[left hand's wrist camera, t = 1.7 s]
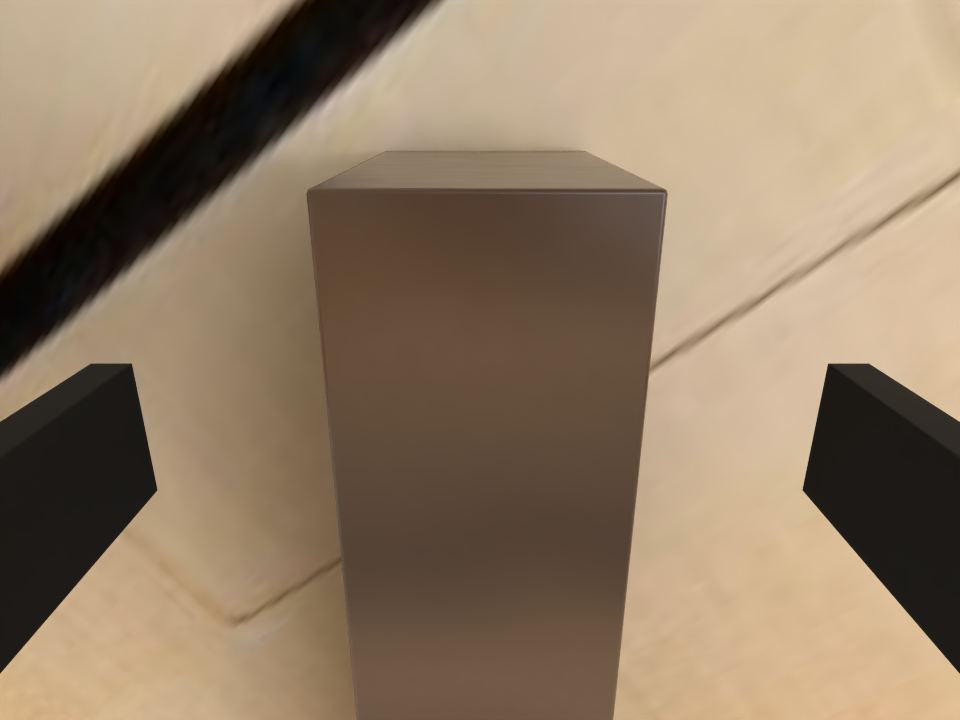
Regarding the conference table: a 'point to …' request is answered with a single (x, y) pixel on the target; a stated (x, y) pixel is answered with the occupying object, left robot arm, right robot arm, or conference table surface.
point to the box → (486, 423)
